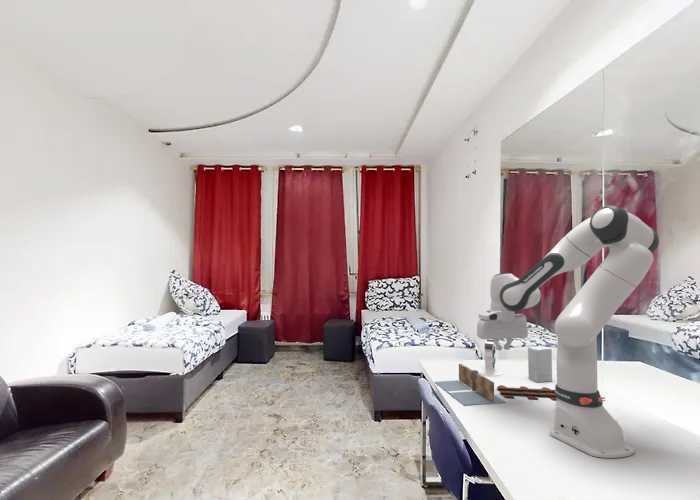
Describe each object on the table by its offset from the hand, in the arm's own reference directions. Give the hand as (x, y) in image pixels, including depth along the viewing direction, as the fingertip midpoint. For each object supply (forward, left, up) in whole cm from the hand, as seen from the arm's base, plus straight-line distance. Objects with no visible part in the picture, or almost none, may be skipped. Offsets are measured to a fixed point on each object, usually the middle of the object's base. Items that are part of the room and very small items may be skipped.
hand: (502, 349), depth 153 cm
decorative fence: (+4, -14, -20) cm, 24 cm away
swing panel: (+3, +7, -18) cm, 20 cm away
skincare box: (+18, -30, -19) cm, 40 cm away
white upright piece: (+33, -14, -19) cm, 41 cm away
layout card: (+10, +10, -19) cm, 24 cm away
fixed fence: (+16, +7, -19) cm, 26 cm away
